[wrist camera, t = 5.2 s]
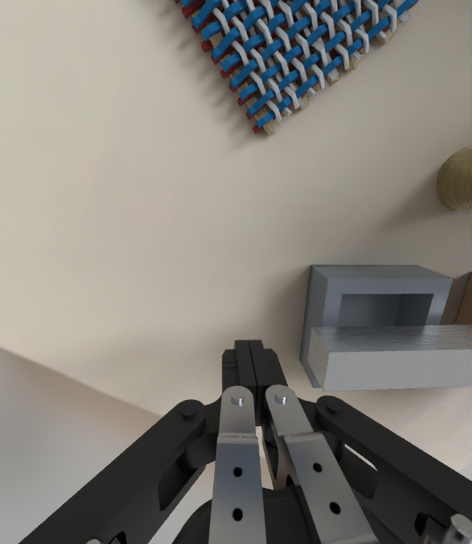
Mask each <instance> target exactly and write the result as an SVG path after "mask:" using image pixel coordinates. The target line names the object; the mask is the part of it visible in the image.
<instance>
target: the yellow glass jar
mask: <svg viewBox="0 0 472 544" xmlns="http://www.w3.org/2000/svg"><path fill="white" fill-rule="evenodd" d="M437 193H438V196H439V199H440V201H441V202H442V203H443V204H444V205H445V206H446V207H448V208H450V209H453V210H465V211H472V146H471V147H467V148H464V149H461V150H459V151H458V152H456V153H455V154H454V155H452V156H451V157H450V158H449V159H448V160H447V162H446V163H445V164H444V166H443V167H442V169H441V171H440V174H439V177H438V181H437Z"/></svg>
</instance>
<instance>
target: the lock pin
mask: <svg viewBox="0 0 472 544" xmlns="http://www.w3.org/2000/svg"><path fill="white" fill-rule="evenodd" d="M307 362H308V363H309V365H310V367H311V369H312V371H313V373H314V375H315V376H316V378H317V380H318V382H319V384H320V386H321V388H322V390H323V391H349V390H378V389H407V388H436V387H466V386H472V325H425V326H358V327H312V329H311V336H310V344H309V352H308V360H307Z"/></svg>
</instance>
